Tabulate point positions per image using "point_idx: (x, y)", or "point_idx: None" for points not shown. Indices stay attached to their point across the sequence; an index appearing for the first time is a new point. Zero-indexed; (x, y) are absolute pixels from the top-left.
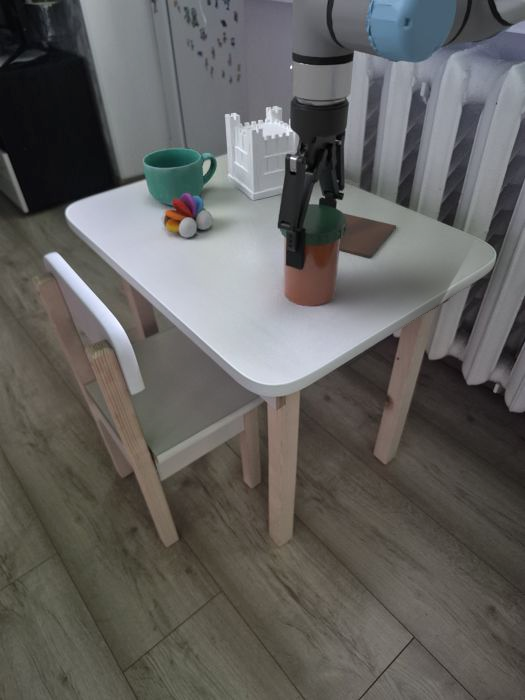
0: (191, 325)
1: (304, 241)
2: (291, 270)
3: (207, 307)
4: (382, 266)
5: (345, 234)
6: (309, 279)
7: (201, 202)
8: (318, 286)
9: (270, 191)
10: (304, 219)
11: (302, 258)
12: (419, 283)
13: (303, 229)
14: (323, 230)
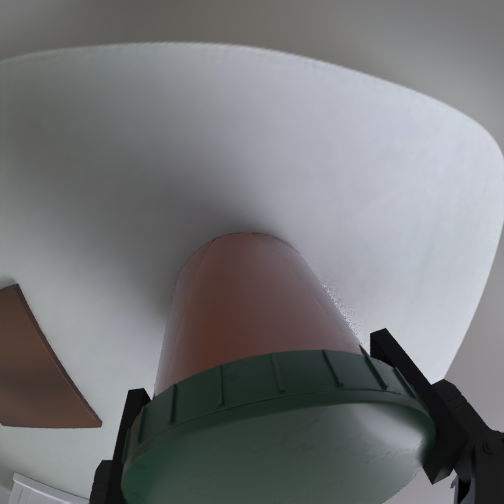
0: (455, 349)
1: (427, 404)
2: None
3: None
4: (15, 239)
5: (16, 376)
6: (331, 299)
7: None
8: (303, 268)
9: (74, 502)
10: (476, 480)
11: (402, 354)
12: (8, 119)
13: (461, 444)
14: (384, 425)
